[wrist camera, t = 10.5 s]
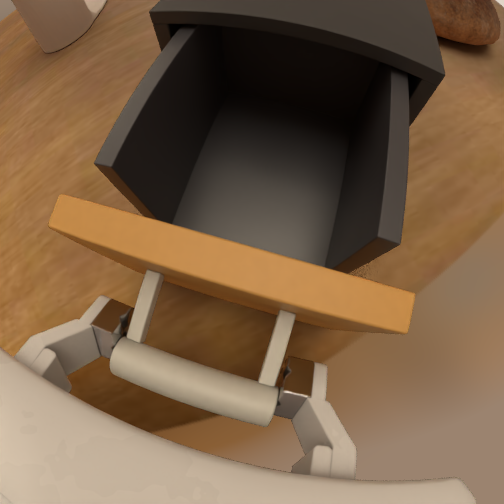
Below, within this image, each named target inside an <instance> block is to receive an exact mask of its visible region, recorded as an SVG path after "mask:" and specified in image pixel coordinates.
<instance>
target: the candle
mask: <svg viewBox="0 0 504 504" xmlns="http://www.w3.org/2000/svg"><path fill="white" fill-rule="evenodd" d="M106 1H107V0H12V2H13V4H14V5H15V7H16V8H17V10H18V11H19V13H20V15H21V16H22V18H23V19H24V21H25V22H26V24H27V26H28V27H29V29H30V31H31V32H32V34H33V36H34V37H35V39H36V41H37V42H38V44H39V45H40V47H41V48H42V50H43V51H44V52H46V53H51V52H55V51H57V50H60V49H62V48H64V47H66V46H67V45H69V44H71V43H72V42H74V41H75V40H77V39H78V38H79V37H80V36H82V35H83V34H84V33H85V32H86V31H87V30H88V29H89V28H90V26H91V25H92V23H93V21H94V20H95V18H96V17H97V16H98V14H99V13H100V11H101V10H102V9H103V7H104V5H105V3H106Z"/></svg>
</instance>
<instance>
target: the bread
mask: <svg viewBox="0 0 504 504" xmlns="http://www.w3.org/2000/svg"><path fill="white" fill-rule="evenodd" d="M425 1H426V4H427V7H428V10H429V13H430V16H431V19H432V23H433V26H434V29H435V33H436V35H437V36H440V37H443V38H447V39H450V40H453V41H457V42H462V43H466V44H472V45H485V44H493V43H494V42H495V41H497V40H498V39H499V36H500V21H499V18H498V15H497V12H496V9H495V7H494V6H493V4H492V2H491V0H425Z"/></svg>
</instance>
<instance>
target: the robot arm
mask: <svg viewBox="0 0 504 504" xmlns="http://www.w3.org/2000/svg"><path fill="white" fill-rule="evenodd" d="M134 309H135V308H133V307H130V306H128V305H125V304H123V303H121V302H118V301H116V300H114V299H111V298H109V297H106V296H104V295H101V296H99V297H98V298H97V299H96V300H95V301H94V303H93V304H92V305H91V306H90V307H89V309H88V310H87V311H86V312H85V313H84V315H83V316H82V317H81V318H80V319H79V320H78V319H75V320H72V321H70V322H67V323H64V324H62V325H59V326H57V327H54V328H51V329H49V330H46V331H44V332H41V333H38V334H36V335H33V336H31V337H30V338H29V339H28V340H27V342H26V343H25V344H24V345H23V346H22V348H21V349H20V350H19V351H18V353H17V354H16V355H15V356H14V357H13V356H12V355H10V354H9V353H7V352H6V351H5V350H4V349H2V348H1V347H0V504H477V502H476V499H475V498H474V496H473V494H472V493H471V492H470V490H469V489H468V487H467V486H466V485H465V483H464V482H463V481H462V480H461V479H460V478H457V477H449V478H440V479H427V480H408V481H373V480H355V475H356V457H357V449H356V447H355V445H354V443H353V442H352V440H351V438H350V436H349V435H348V433H347V432H346V430H345V428H344V426H343V425H342V423H341V421H340V419H339V418H338V416H337V414H336V413H335V411H334V409H333V408H332V406H331V404H330V402H327V401H326V388H327V368H328V367H327V365H326V364H321V363H317V362H313V361H309V360H304V359H300V358H296V357H291V356H288V357H287V358H286V361H285V365H284V367H283V368H282V369H281V371H280V374H279V377H278V380H277V384H276V386H277V387H278V388H279V396H278V401H277V405H276V408H275V412H274V415H276V416H280V417H284V418H288V419H292V420H291V421H292V424H293V426H294V429H295V431H296V434H297V436H298V438H299V441H300V443H301V446H302V448H303V451H304V453H305V456H304V457H303V458H302V459H300V460H299V461H298V462H297V463H296V464H294V465H293V466H292V471H291V472H284V471H279V470H274V469H269V468H264V467H259V466H254V465H250V464H246V463H242V462H238V461H234V460H230V459H226V458H223V457H219V456H216V455H212V454H209V453H205V452H202V451H199V450H196V449H193V448H190V447H187V446H184V445H181V444H178V443H175V442H173V441H170V440H167V439H164V438H162V437H159V436H157V435H154V434H152V433H149V432H147V431H145V430H142V429H140V428H137V427H135V426H133V425H131V424H128V423H126V422H124V421H122V420H120V419H117V418H115V417H113V416H111V415H109V414H107V413H105V412H103V411H101V410H99V409H97V408H95V407H93V406H91V405H89V404H88V403H86V402H84V401H82V400H80V399H78V398H77V397H75V396H73V395H71V394H70V393H69V392H70V391H71V389H72V386H71V383H70V382H69V380H68V378H67V375H69V374H71V373H73V372H74V371H76V370H78V369H80V368H82V367H83V366H85V365H87V364H89V363H90V362H92V361H94V360H96V359H97V358H99V357H101V356H103V357H105V358H108V359H110V358H111V354H112V352H113V349H114V347H115V345H116V344H117V342H118V341H119V340H120V339H121V338H122V337H125V336H126V337H127V333H128V329H129V326H130V322H131V319H132V315H133V312H134ZM100 355H101V356H100Z"/></svg>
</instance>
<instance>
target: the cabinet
mask: <svg viewBox="0 0 504 504" xmlns="http://www.w3.org/2000/svg"><path fill="white" fill-rule="evenodd" d="M149 13H150V17H151V20H152V23H153V26H154V29H155V32H156V36H157V39H158V42H159V45H160V48H161V52H162V51H163V49H164V48H165V47H166V45H167V44H168V43H169V41H170V40H171V39H172V37H173V36H174V35H175V34H176V32H177V31H178V30H179V29H180V27H181V26H182V25H183V24H199V25H214V26H225V27H235V28H243V29H251V30H258V31H264V32H270V33H276V34H281V35H286V36H291V37H296V38H301V39H305V40H309V41H314V42H318V43H321V44H325V45H329V46H333V47H336V48H340V49H343V50H346V51H350V52H353V53H356V54H359V55H362V56H365V57H368V58H371V59H374V60H377V61H379V62H382V63H385V64H387V65H390V66H393V67H395V68H398V69H400V70H403V71H405V72H407V73H408V89H409V127H410V125H411V124H412V123H413V121H414V120H415V118H416V117H417V116H418V114H419V113H420V111H421V110H422V108H423V107H424V106H425V104H426V103H427V101H428V100H429V98H430V97H431V96H432V94H433V93H434V91H435V90H436V88H437V86H438V85H439V84H440V82H441V81H442V80H443V78H444V77H445V71H444V66H443V61H442V57H441V52H440V48H439V44H438V40H437V37H436V33H435V29H434V26H433V23H432V19H431V16H430V13H429V10H428V7H427V4H426V1H425V0H160V1H159V2H158V3H157V4H156V5H155V6H154V7H153V8H152V9H151V10H150V11H149Z"/></svg>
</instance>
